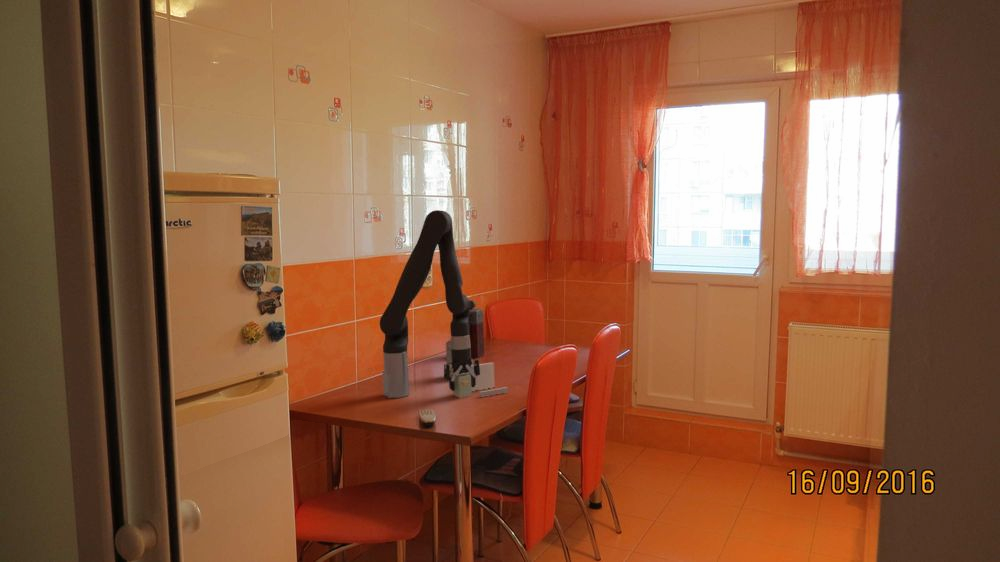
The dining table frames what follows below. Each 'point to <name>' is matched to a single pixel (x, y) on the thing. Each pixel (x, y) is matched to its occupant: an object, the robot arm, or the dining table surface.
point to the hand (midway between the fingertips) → (462, 388)
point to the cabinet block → (462, 385)
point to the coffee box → (449, 354)
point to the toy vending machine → (476, 330)
